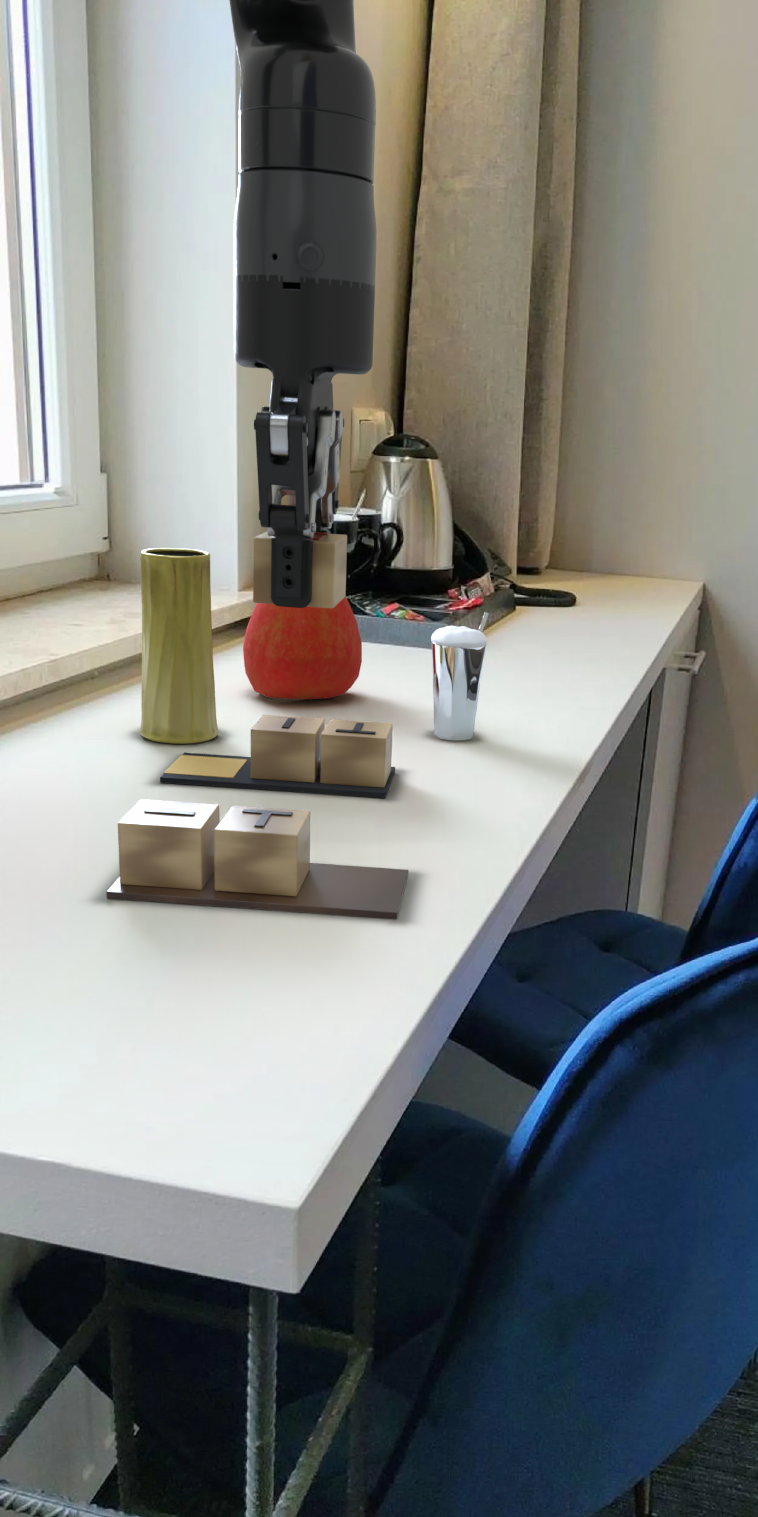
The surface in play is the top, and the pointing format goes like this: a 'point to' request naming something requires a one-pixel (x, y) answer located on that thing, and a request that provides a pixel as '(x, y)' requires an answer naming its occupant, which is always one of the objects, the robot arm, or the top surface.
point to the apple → (302, 651)
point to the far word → (299, 759)
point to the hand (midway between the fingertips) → (299, 598)
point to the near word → (242, 862)
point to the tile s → (324, 569)
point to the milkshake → (457, 679)
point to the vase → (177, 647)
